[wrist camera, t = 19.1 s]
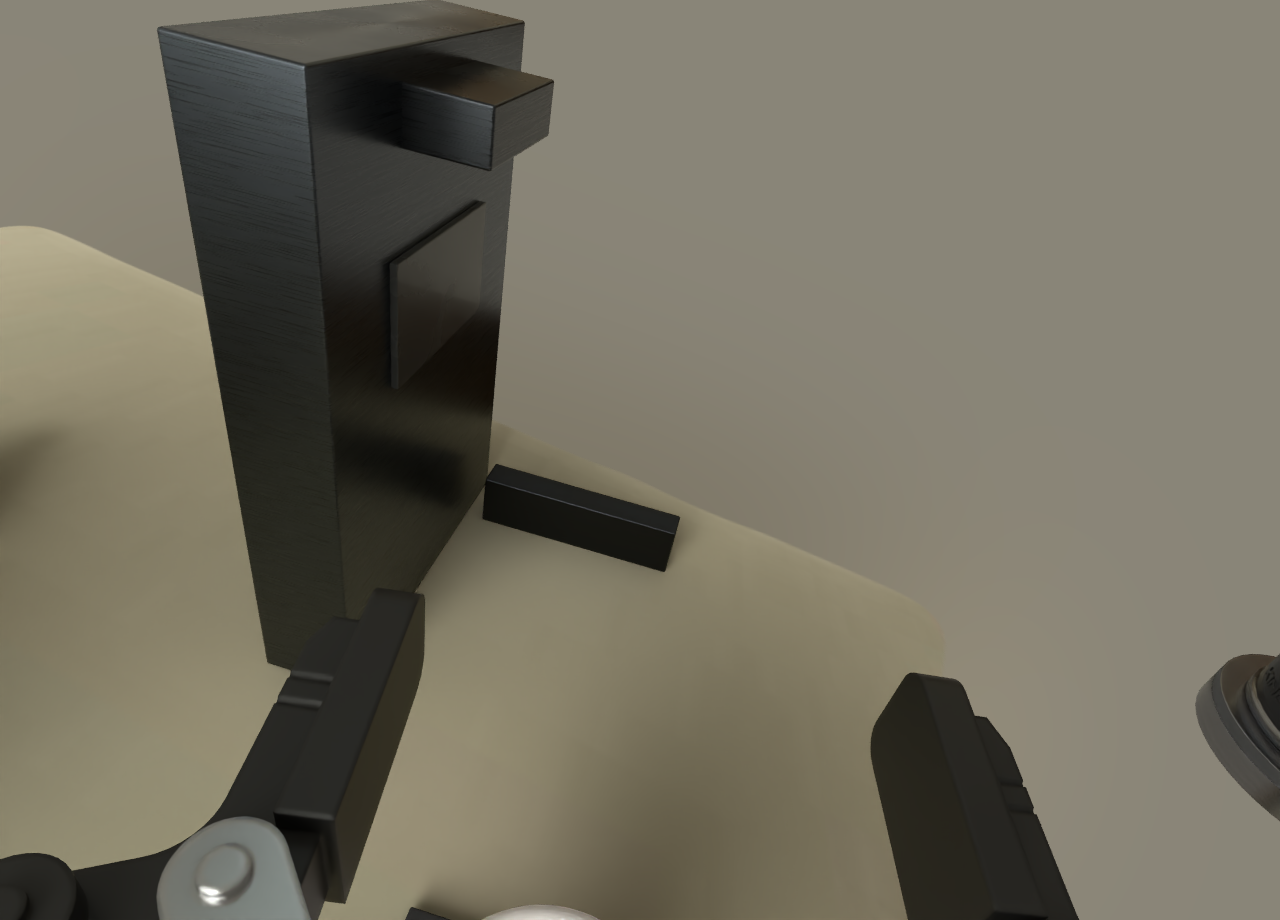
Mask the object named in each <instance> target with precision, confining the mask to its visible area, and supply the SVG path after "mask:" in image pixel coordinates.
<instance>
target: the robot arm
mask: <svg viewBox="0 0 1280 920" xmlns="http://www.w3.org/2000/svg"><path fill="white" fill-rule="evenodd" d="M424 637H425V597H424V595H423V594H417V593H411V592H404V591H398V590H391V589H385V588H376V589H375V590H374V591H373V592H372V594H371V596H370V598H369V600H368V602H367V604H366V607H365V609H364V611H363V613H362V615H361V618H360V620H355V619H349V618H342V617H336V616H334V617H333V618H331V619H330V620H329V621H328V622H327V623H326V624H325V625H324V626H322V627H321V628H320V629H319V630H318V631H317V632H316V633H315V634H314V635H312V636H311V637H310V638H309V639H308V640H307V641H306V643H305V645H304V647H303V649H302V651H301V653H300V655H299V657H298V658H297V660H296V662H295V664H294V666H293V668H292V670H291V674H290V677H289V678H287V680H286V682H285V684H284V686H283V688H282V690H281V692H280V694H279V695H278V700H277V702H276V703H274V705H273V707H272V709H271V711H270V713H269V715H268V717H267V719H266V721H265V723H264V725H263V727H262V729H261V731H260V733H259V734H258V736H257V738H256V740H255V742H254V744H253V746H252V748H251V750H250V752H249V754H248V756H247V758H246V760H245V762H244V764H243V766H242V768H241V770H240V771H239V773H238V775H237V777H236V779H235V781H234V783H233V785H232V787H231V789H230V791H229V793H228V795H227V797H226V799H225V800H224V802H223V803H222V805H221V807H220V808H219V809H218V811H217V812H216V813H215V815H214V816H213V817H212V818H211V819H210V820H209V821H208V822H207V823H206V824H205V825H204V826H203V827H202V828H201V829H199V830H198V831H197V832H196V833H194V834H193V835H192V836H190V837H189V838H187V839H186V840H184V841H182V842H181V843H179V844H177V845H175V846H173V847H171V848H169V849H167V850H164V851H161V852H159V853H156V854H152V855H149V856H145V857H140V858H135V859H130V860H125V861H120V862H115V863H110V864H105V865H99V866H94V867H89V868H84V869H79V870H74V871H72V870H71V869H70V868H69V867H68V866H67V864H66V863H64V862H63V861H62V860H60V859H59V858H56V857H54V856H51V855H48V854H41V853H25V854H19V855H13V856H10V857H7V858H3V859H0V920H318V918H319V915H320V912H321V909H322V907H323V904H324V901H327V902H335V903H343V904H345V903H346V900H347V897H348V894H349V891H350V888H351V885H352V882H353V879H354V876H355V873H356V870H357V867H358V864H359V861H360V858H361V855H362V852H363V849H364V846H365V843H366V840H367V838H368V835H369V832H370V829H371V826H372V823H373V820H374V817H375V814H376V811H377V808H378V805H379V802H380V799H381V796H382V793H383V790H384V787H385V784H386V781H387V778H388V775H389V772H390V769H391V766H392V763H393V760H394V757H395V755H396V752H397V749H398V746H399V743H400V740H401V737H402V734H403V731H404V728H405V725H406V722H407V719H408V716H409V713H410V710H411V707H412V704H413V701H414V698H415V695H416V692H417V689H418V685H419V681H420V677H421V673H422V667H423V661H424ZM1246 698H1247V702H1248V705H1249V708H1250V710H1251V712H1252V714H1253V716H1254V718H1255V719H1256V721H1257V723H1258V724H1259V726H1260V727H1261V729H1262V730H1263V731H1264V733H1265V734H1266V735H1267V737H1268V738H1269V739H1270V740H1271V741H1272V743H1273V744H1274V745H1275V746H1276V747H1277V748H1278V749H1279V750H1280V654H1279V655H1278V656H1277V657H1276V658H1275V659H1274V660H1273V661H1271V662H1270V663H1269V664H1268V665H1267V666H1264V667H1262V668H1261V669H1259V670H1258V671H1257V672H1256V673H1255V674H1254V675H1253V676H1252V677H1251V678H1250V679H1249V680H1248V682H1247V685H1246ZM871 760H872V765H873V769H874V773H875V778H876V782H877V787H878V791H879V795H880V800H881V804H882V808H883V813H884V817H885V821H886V826H887V830H888V835H889V839H890V843H891V848H892V852H893V856H894V861H895V865H896V869H897V874H898V878H899V883H900V887H901V891H902V896H903V900H904V904H905V909H906V913H907V917H908V920H1079V918H1078V916H1077V914H1076V912H1075V909H1074V907H1073V904H1072V902H1071V900H1070V897H1069V894H1068V892H1067V889H1066V887H1065V884H1064V882H1063V879H1062V877H1061V874H1060V872H1059V869H1058V867H1057V864H1056V862H1055V859H1054V857H1053V854H1052V852H1051V849H1050V847H1049V844H1048V842H1047V840H1046V837H1045V834H1044V832H1043V829H1042V827H1041V824H1040V822H1039V819H1038V817H1037V815H1036V814H1034V813H1033V808H1034V807H1033V804H1032V802H1031V799H1030V797H1029V794H1028V792H1027V789H1026V787H1023V785H1022V782H1023V779H1022V777H1021V774H1020V772H1019V769H1018V767H1017V764H1016V762H1015V759H1014V757H1013V754H1012V752H1011V749H1010V747H1009V746H1008V745H1007V743H1006V742H1005V741H1004V739H1003V738H1002V737H1001V735H1000V734H999V733H998V732H997V730H996V729H995V728H994V726H993V725H992V724H991V723H990V721H989V720H988V719H987V718H986V717H980V716H974V713H973V710H972V707H971V705H970V702H969V699H968V697H967V694H966V691H965V689H964V687H963V686H962V684H961V683H960V682H959V681H957V680H955V679H950V678H945V677H938V676H932V675H925V674H919V673H909V674H908V675H906V676H905V678H904V679H903V681H902V682H901V684H900V685H899V687H898V688H897V690H896V692H895V693H894V695H893V696H892V698H891V699H890V701H889V702H888V704H887V706H886V707H885V709H884V710H883V712H882V713H881V715H880V716H879V718H878V720H877V721H876V723H875V725H874V728H873V731H872V736H871Z"/></svg>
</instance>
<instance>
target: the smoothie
mask: <svg viewBox="0 0 1280 920" xmlns="http://www.w3.org/2000/svg"><path fill="white" fill-rule="evenodd" d="M482 920H600V919H598V918H596V917H594V916H592V915H590V914H587V913H584V912H582V911H579V910H576V909H572V908H568V907H563V906H557V905H542V904H539V905H526V906H520V907H514V908H511V909H507V910H503V911H500V912H498V913H495V914H492V915H490V916H488V917H486V918H484V919H482Z"/></svg>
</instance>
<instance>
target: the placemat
mask: <svg viewBox="0 0 1280 920" xmlns="http://www.w3.org/2000/svg"><path fill="white" fill-rule="evenodd" d="M405 920H450V919H447V918H444V917H441V916H437V915H434V914H431V913H428V912H425V911H422V910H419V909H416V908H413V907H411V908H410V910H409V912H408V914H407V917H406V919H405Z"/></svg>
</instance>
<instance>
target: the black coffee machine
mask: <svg viewBox="0 0 1280 920" xmlns="http://www.w3.org/2000/svg"><path fill="white" fill-rule="evenodd" d="M524 26H525V23H524V21H523V20H518V19H514V18H510V17H506V16H502V15H498V14H494V13H490V12H486V11H482V10H478V9H474V8H469V7H465V6H462V5H458V4H454V3H450V2H446V1H441V0H425V1H415V2H406V3H394V4H384V5H374V6H364V7H355V8H344V9H333V10H323V11H313V12H303V13H293V14H283V15H273V16H263V17H253V18H242V19H233V20H222V21H212V22H201V23H191V24H181V25H171V26H161V27H158V29H157V32H158V38H159V43H160V49H161V55H162V61H163V66H164V72H165V78H166V83H167V89H168V94H169V101H170V107H171V112H172V118H173V123H174V129H175V135H176V141H177V146H178V152H179V158H180V164H181V170H182V175H183V181H184V186H185V193H186V198H187V204H188V210H189V216H190V221H191V227H192V233H193V238H194V244H195V250H196V256H197V261H198V267H199V273H200V279H201V284H202V290H203V296H204V302H205V307H206V313H207V319H208V325H209V330H210V336H211V342H212V347H213V353H214V359H215V365H216V370H217V376H218V382H219V388H220V393H221V399H222V405H223V411H224V416H225V422H226V428H227V434H228V439H229V445H230V451H231V456H232V462H233V468H234V474H235V479H236V485H237V491H238V497H239V502H240V508H241V514H242V520H243V525H244V531H245V537H246V542H247V548H248V554H249V560H250V565H251V571H252V577H253V583H254V588H255V594H256V600H257V606H258V611H259V617H260V623H261V629H262V634H263V640H264V646H265V651H266V657H267V662H268V663H270V664H273V665H277V666H280V667H283V668H286V669H289V670H292V668H293V666H294V664H295V662H296V660H297V658H298V657H299V655H300V653H301V651H302V649H303V647H304V645H305V643H306V641H307V640H308V639H309V638H310V637H311V636H312V635H314V634H315V633H316V632H317V631H318V630H319V629H320V628H321V627H322V626H324V625H325V624H326V623H327V622H328V621H329V620H330V619H331V618H333V617H334V616H336V617H342V618H349V619H355V620H360V618H361V615H362V613H363V611H364V609H365V607H366V604H367V602H368V600H369V598H370V596H371V594H372V592H373V591H374V590H375V589H376V588H385V589H391V590H398V591H404V592H411V593H414V591H415V590H416V588H417V587H418V585H419V584H420V582H421V581H422V579H423V578H424V576H425V574H426V573H427V571H428V570H429V568H430V567H431V565H432V564H433V562H434V561H435V559H436V558H437V556H438V555H439V553H440V552H441V550H442V549H443V547H444V546H445V544H446V543H447V541H448V540H449V538H450V537H451V535H452V534H453V532H454V530H455V529H456V527H457V526H458V524H459V523H460V521H461V520H462V518H463V517H464V515H465V514H466V512H467V511H468V509H469V508H470V506H471V505H472V503H473V502H474V500H475V499H476V497H477V496H478V494H479V493H480V491H481V489H482V488H483V486H484V485H485V494H484V506H483V519H485V520H488V521H492V522H495V523H498V524H502V525H505V526H509V527H512V528H515V529H519V530H522V531H526V532H529V533H533V534H536V535H539V536H543V537H546V538H550V539H553V540H556V541H560V542H563V543H567V544H570V545H574V546H577V547H580V548H584V549H587V550H591V551H594V552H597V553H601V554H604V555H608V556H611V557H615V558H618V559H621V560H625V561H628V562H632V563H635V564H638V565H642V566H645V567H649V568H652V569H656V570H659V571H662V572H664V571H665V569H666V566H667V562H668V559H669V555H670V552H671V549H672V545H673V542H674V538H675V535H676V531H677V527H678V524H679V520H680V517H679V516H676V515H672V514H669V513H665V512H662V511H658V510H655V509H651V508H648V507H644V506H641V505H638V504H634V503H631V502H627V501H624V500H620V499H617V498H613V497H610V496H606V495H603V494H599V493H596V492H592V491H589V490H585V489H582V488H578V487H575V486H571V485H568V484H564V483H561V482H558V481H554V480H551V479H547V478H544V477H540V476H537V475H533V474H530V473H526V472H523V471H519V470H516V469H512V468H509V467H505V466H502V465H498V464H496V465H495V466H494V468H493V469H492V471H491V472H490V474H489V475H488V477H487V472H488V460H489V448H490V436H491V424H492V411H493V399H494V387H495V375H496V362H497V351H498V338H499V327H500V315H501V302H502V290H503V278H504V267H505V255H506V243H507V231H508V218H509V206H510V194H511V182H512V170H513V158H514V156H516V155H517V154H519V153H521V152H522V151H524V150H526V149H527V148H529V147H531V146H532V145H534V144H535V143H537V142H539V141H540V140H541V139H543V138H545V137H547V136H548V133H549V124H550V114H551V104H552V96H553V86H554V81H553V80H552V79H548V78H544V77H540V76H536V75H532V74H528V73H524V72H521V62H522V50H523V49H522V48H523V38H524Z"/></svg>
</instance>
